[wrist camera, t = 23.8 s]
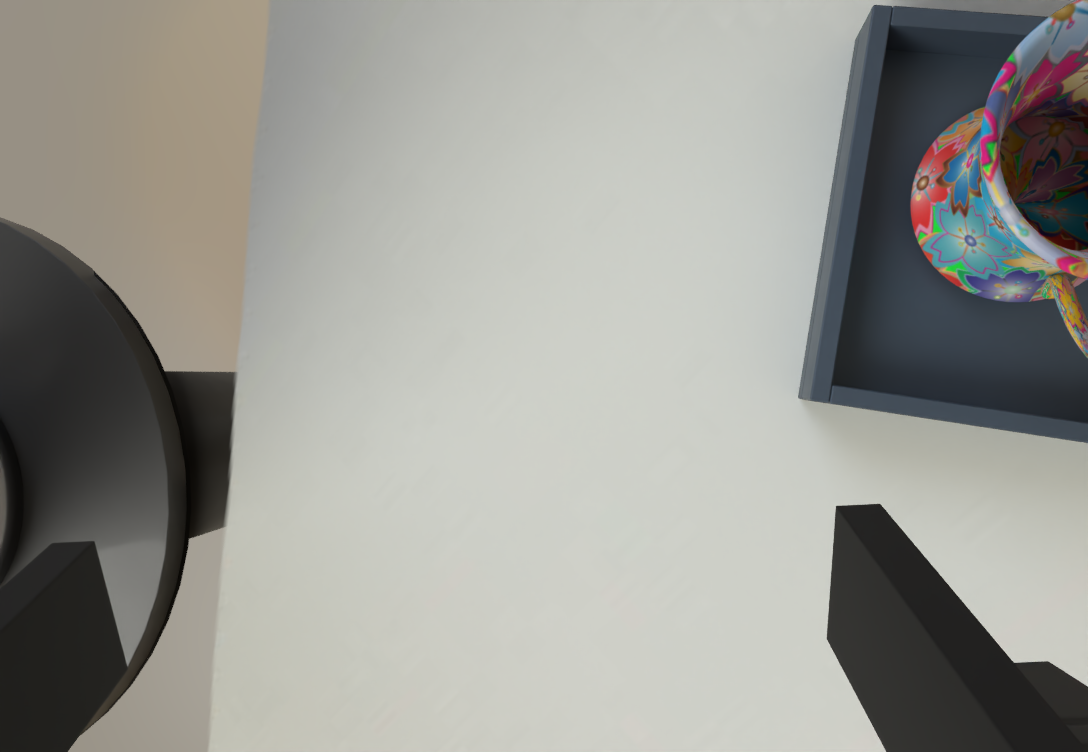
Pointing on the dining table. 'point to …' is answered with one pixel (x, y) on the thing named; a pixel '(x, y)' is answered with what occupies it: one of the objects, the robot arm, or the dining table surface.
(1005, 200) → the mug
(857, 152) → the tray
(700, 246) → the dining table surface
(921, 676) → the robot arm
